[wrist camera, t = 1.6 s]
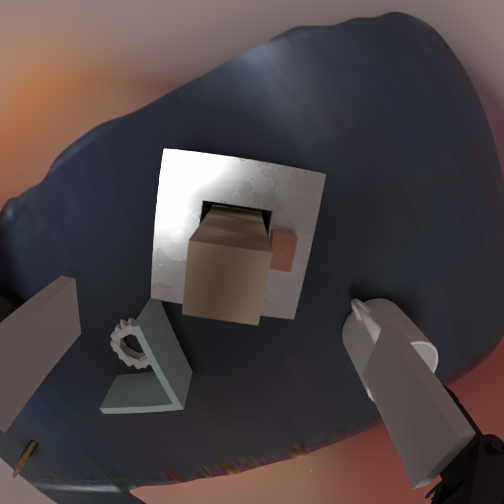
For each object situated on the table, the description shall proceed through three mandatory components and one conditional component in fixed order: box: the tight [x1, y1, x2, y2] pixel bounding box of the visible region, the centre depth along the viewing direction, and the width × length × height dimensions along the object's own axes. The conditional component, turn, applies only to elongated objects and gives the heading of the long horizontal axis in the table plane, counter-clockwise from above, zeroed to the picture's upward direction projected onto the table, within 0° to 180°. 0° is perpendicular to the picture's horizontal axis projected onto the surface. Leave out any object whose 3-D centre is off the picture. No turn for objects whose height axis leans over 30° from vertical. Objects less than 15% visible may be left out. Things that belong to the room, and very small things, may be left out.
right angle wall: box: [100, 298, 192, 414], centre depth 33 cm, size 12×12×8 cm
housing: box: [151, 149, 326, 319], centre depth 28 cm, size 14×14×8 cm
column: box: [182, 202, 273, 325], centre depth 24 cm, size 5×5×16 cm
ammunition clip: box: [13, 440, 37, 478], centre depth 41 cm, size 11×2×12 cm, turn 136°
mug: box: [342, 298, 438, 402], centre depth 30 cm, size 9×12×11 cm
